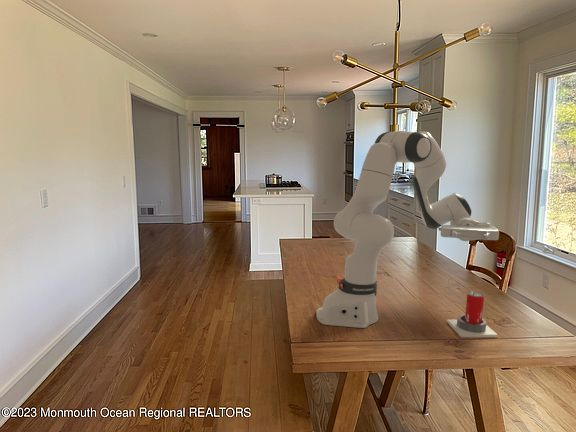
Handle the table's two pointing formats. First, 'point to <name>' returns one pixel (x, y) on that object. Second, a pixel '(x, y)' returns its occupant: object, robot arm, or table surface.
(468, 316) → the beverage can
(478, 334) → the mount
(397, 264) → the table surface
